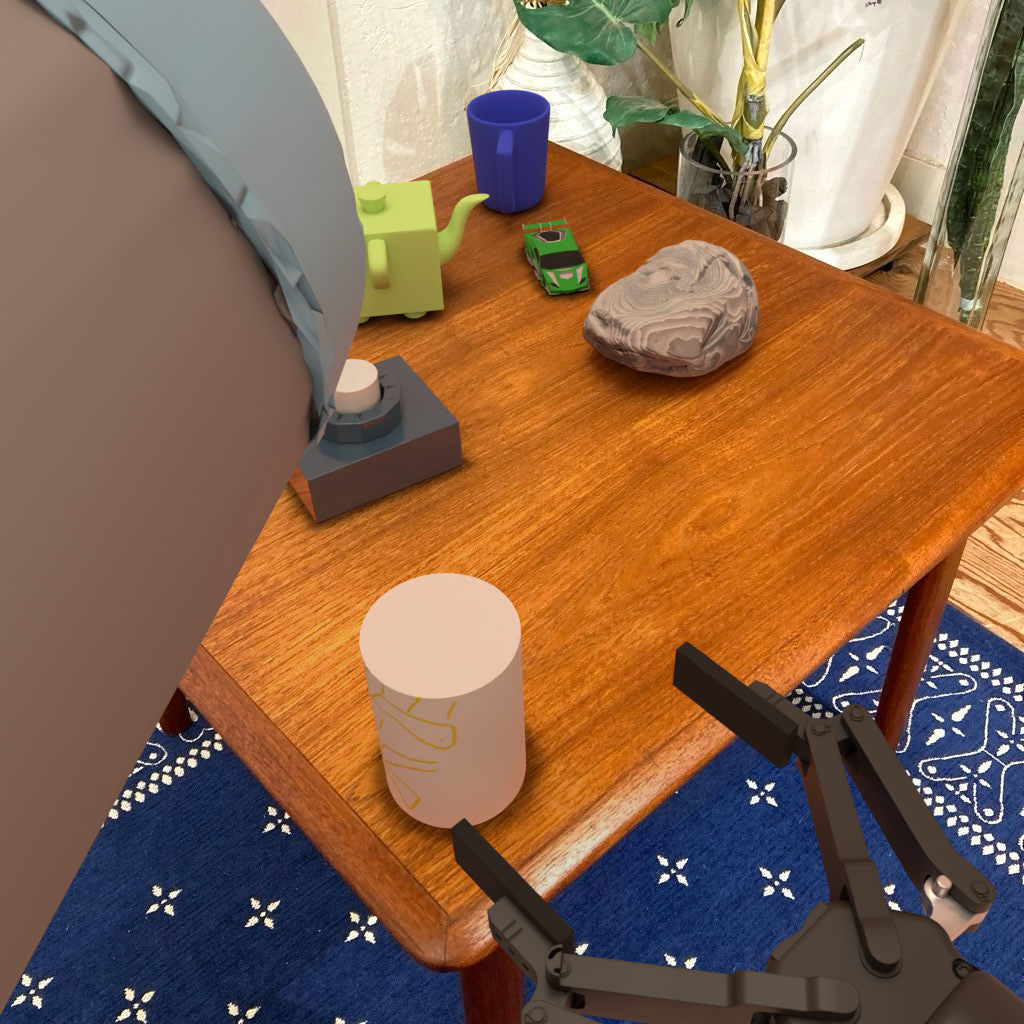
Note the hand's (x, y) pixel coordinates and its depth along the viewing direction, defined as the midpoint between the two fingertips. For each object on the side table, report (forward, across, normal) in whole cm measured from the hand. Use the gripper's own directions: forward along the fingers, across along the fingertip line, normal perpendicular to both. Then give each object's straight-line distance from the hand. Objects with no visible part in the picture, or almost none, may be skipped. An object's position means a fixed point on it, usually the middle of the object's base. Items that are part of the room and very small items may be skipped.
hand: (575, 744), depth 48 cm
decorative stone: (+30, +39, -13) cm, 51 cm away
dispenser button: (+36, +12, -7) cm, 39 cm away
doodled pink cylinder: (+10, 0, -13) cm, 16 cm away
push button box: (+36, +12, -13) cm, 40 cm away
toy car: (+46, +42, -13) cm, 63 cm away
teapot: (+53, +26, -13) cm, 60 cm away
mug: (+57, +46, -13) cm, 74 cm away
